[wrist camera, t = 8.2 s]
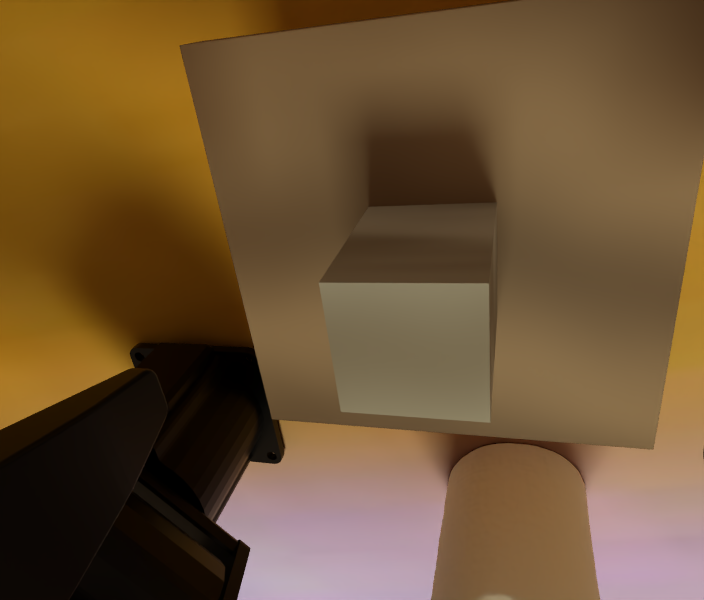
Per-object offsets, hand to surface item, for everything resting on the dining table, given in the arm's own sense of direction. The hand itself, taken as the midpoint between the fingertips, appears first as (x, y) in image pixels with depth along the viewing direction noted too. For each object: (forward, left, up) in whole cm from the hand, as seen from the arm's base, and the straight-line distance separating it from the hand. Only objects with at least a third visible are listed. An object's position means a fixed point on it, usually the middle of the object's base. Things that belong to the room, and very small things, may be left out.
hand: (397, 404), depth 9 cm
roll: (-14, -2, -12) cm, 18 cm away
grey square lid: (0, 0, -7) cm, 7 cm away
